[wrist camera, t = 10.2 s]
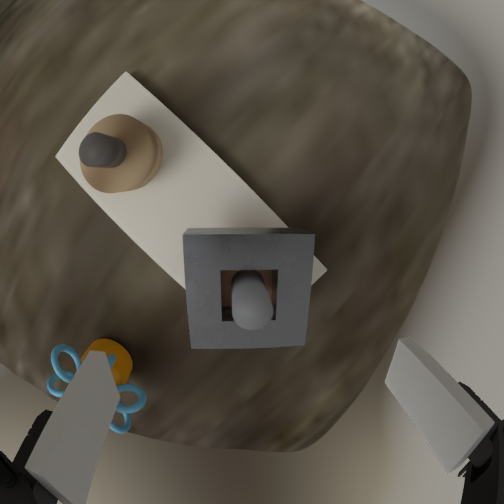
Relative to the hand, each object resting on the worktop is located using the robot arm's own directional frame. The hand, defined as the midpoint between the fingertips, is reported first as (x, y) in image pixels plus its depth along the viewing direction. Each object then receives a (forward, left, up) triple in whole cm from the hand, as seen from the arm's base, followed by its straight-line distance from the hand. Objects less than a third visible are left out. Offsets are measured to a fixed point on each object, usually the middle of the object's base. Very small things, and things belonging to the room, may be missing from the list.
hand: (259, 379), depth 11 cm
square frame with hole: (0, 0, -12) cm, 12 cm away
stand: (-15, 0, -16) cm, 21 cm away
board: (-8, 0, -17) cm, 19 cm away
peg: (0, 0, -16) cm, 16 cm away
